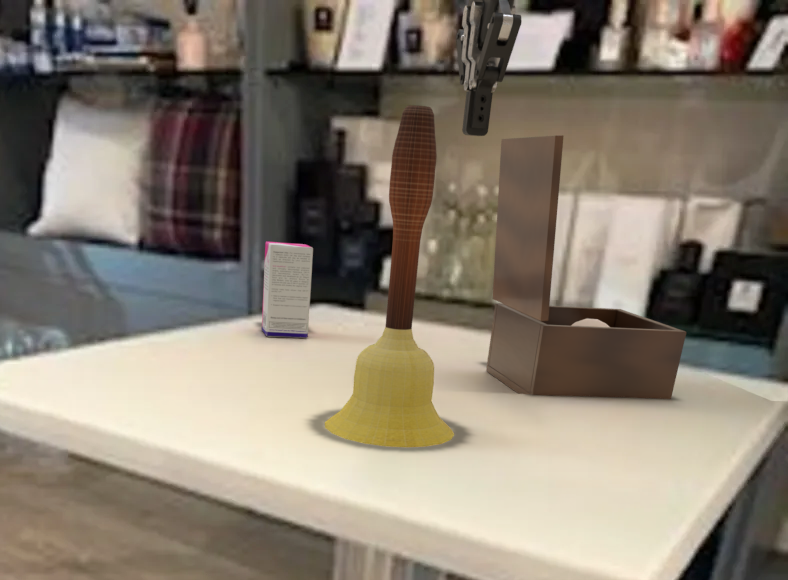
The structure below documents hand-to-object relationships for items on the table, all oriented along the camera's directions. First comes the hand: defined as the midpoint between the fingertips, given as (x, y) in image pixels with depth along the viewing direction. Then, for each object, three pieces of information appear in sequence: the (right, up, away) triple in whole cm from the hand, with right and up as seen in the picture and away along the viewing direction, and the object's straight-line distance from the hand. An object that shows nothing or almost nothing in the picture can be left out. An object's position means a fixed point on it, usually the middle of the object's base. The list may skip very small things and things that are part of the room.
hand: (474, 135), depth 86 cm
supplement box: (-21, -10, +33) cm, 40 cm away
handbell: (-9, -32, -10) cm, 35 cm away
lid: (+6, -7, +5) cm, 10 cm away
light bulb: (+15, -21, +13) cm, 29 cm away
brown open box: (+13, -22, +13) cm, 29 cm away
